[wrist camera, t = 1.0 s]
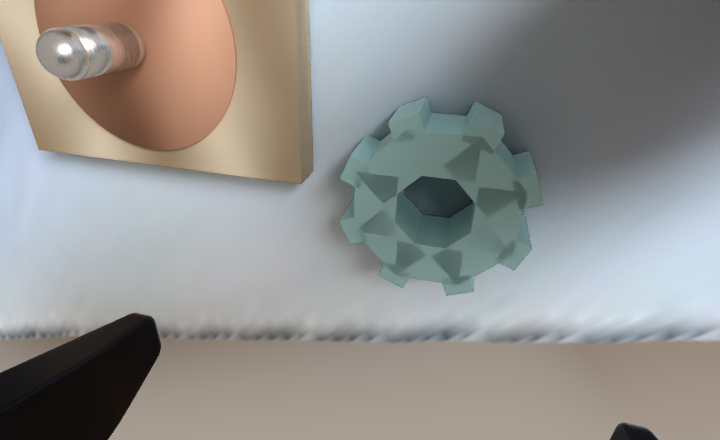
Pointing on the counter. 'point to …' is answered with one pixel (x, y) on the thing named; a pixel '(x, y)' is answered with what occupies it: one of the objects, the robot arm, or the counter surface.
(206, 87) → the gear board
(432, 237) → the loose gear
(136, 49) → the steel pegs
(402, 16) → the counter surface
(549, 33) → the counter surface
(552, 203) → the counter surface
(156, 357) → the robot arm
